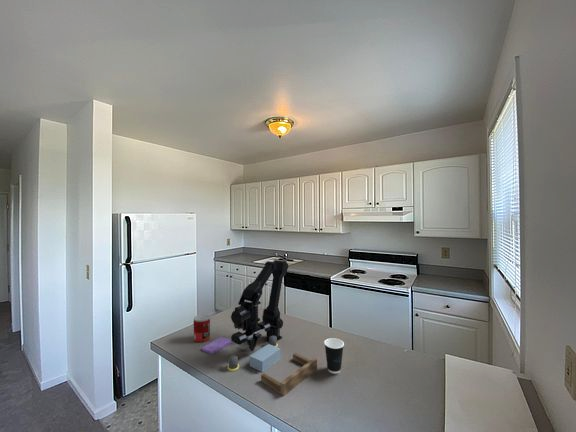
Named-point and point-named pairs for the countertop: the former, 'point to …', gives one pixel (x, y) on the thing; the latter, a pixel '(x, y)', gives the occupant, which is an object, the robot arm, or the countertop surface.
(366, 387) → the countertop surface
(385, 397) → the countertop surface
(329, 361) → the dixie cup
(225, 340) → the sponges
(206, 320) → the canned food
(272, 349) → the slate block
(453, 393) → the countertop surface
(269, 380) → the bay
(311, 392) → the countertop surface
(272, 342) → the bollards
